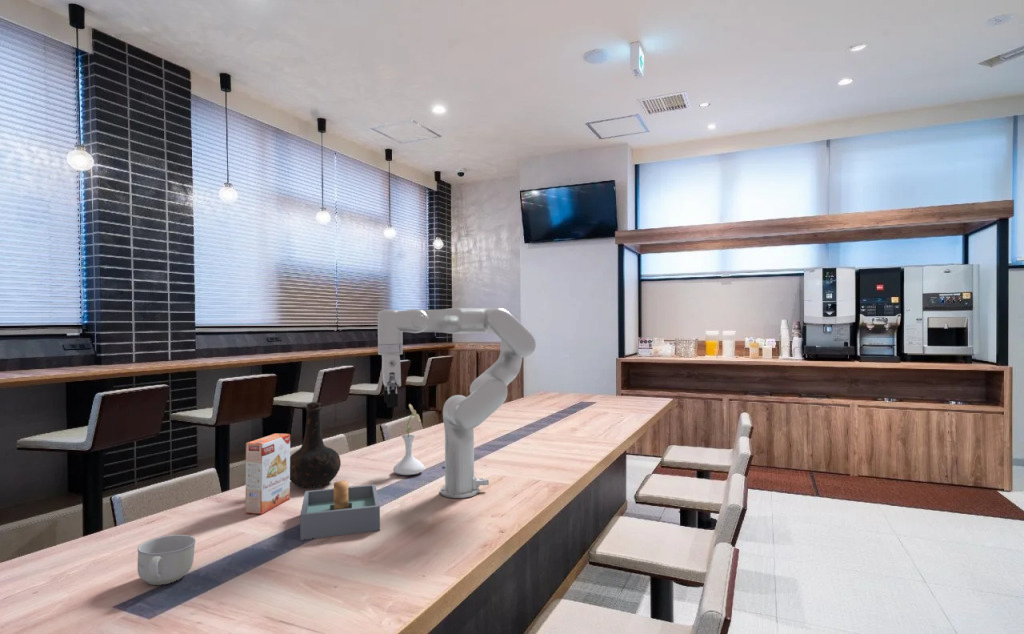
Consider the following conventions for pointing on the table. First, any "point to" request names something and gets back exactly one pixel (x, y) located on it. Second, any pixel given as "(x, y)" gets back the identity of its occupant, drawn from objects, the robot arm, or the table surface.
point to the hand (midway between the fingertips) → (390, 404)
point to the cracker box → (267, 473)
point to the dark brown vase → (313, 455)
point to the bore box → (339, 513)
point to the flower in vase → (409, 453)
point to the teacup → (165, 558)
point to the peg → (341, 495)
